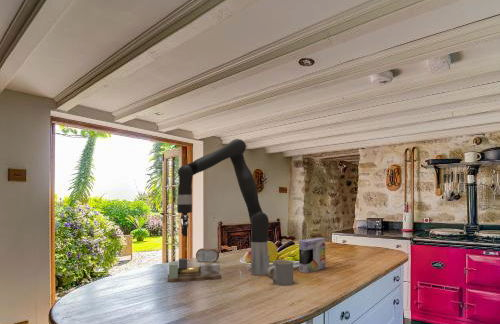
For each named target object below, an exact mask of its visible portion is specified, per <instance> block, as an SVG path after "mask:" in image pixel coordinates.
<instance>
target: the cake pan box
mask: <svg viewBox="0 0 500 324" xmlns="http://www.w3.org/2000/svg"><path fill="white" fill-rule="evenodd" d="M298 254H299V255H298V258H299V261H298V262H299V264H298V265H299V269H298V271H299V273H302V274H308V273H312V272H315V271H316V272H317V271H321V270H324V269H326V238H325V237H319V236H318V237H315V238H307V239H300V240H299V241H298Z"/></svg>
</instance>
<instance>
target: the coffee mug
mask: <svg viewBox="0 0 500 324" xmlns="http://www.w3.org/2000/svg"><path fill="white" fill-rule="evenodd" d="M271 272H272V275H271ZM266 276H267V277H268V279H270V280H271V281H272V283H273V284H274V285H278V286H290V285H293V284H294V262H293V260H291V259H290V260H288V259H276V260H273V261H272V266H269V268H268V271H267V275H266Z"/></svg>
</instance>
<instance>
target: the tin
mask: <svg viewBox="0 0 500 324" xmlns="http://www.w3.org/2000/svg"><path fill="white" fill-rule="evenodd" d="M195 258H196V260H197V261H198V262H200V263H215V262H217V261H218V260H219V258H220V252H219V251H218V250H217V249H215V248H205V247H204V248H200V249H197V251H196V252H195Z"/></svg>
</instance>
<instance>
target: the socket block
mask: <svg viewBox="0 0 500 324" xmlns="http://www.w3.org/2000/svg"><path fill="white" fill-rule="evenodd" d="M178 268H179V262H178V261H170V262H168V275H169V279H173V278H178Z"/></svg>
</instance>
